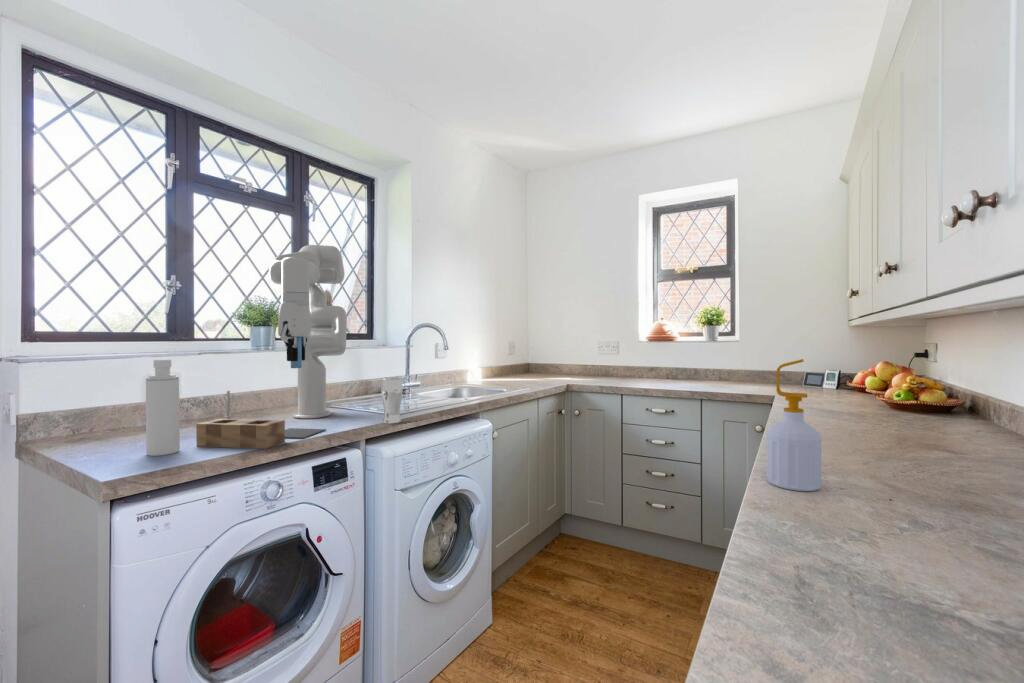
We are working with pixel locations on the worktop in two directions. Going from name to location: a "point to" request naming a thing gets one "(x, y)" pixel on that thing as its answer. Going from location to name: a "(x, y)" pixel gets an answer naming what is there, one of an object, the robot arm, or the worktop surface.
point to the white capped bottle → (162, 410)
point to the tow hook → (227, 406)
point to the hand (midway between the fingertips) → (296, 360)
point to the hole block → (240, 433)
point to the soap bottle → (793, 447)
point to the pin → (298, 345)
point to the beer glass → (391, 399)
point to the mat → (301, 433)
